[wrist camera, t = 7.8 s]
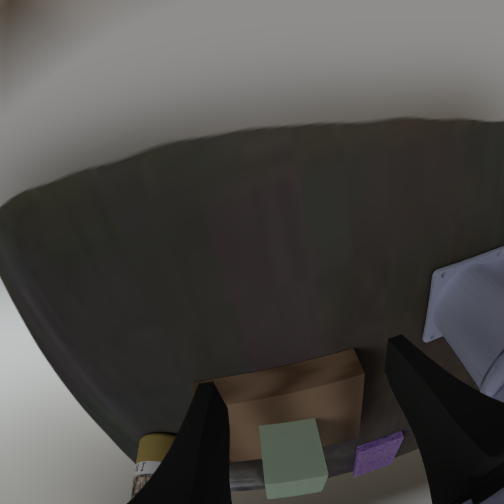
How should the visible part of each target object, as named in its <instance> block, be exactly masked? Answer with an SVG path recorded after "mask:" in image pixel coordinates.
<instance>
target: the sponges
mask: <svg viewBox="0 0 504 504" xmlns="http://www.w3.org/2000/svg"><path fill="white" fill-rule="evenodd" d="M403 438H404V436H403V434H402V431H399V432H397V433H394V434H392V435H389V436H387V437H383V438H381V439H378V440H375V441H372V442H369V443H366V444H363V445H360V446H357V450H356V457H355V462H354V468H353V472H354V477H357V476H359V475H362V474H365V473H368V472H370V471H373V470H376V469H379V468H381V467H385V466H387V465H390V464H392V462H393V459H394V457H395V455H396V453H397V450H398V449H399V447H400V445H401V443H402V440H403Z"/></svg>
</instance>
